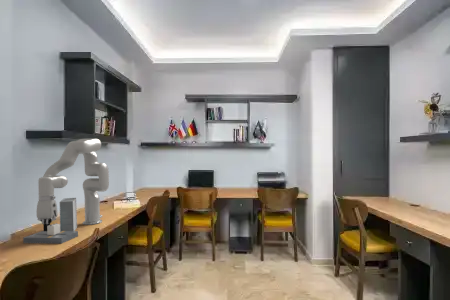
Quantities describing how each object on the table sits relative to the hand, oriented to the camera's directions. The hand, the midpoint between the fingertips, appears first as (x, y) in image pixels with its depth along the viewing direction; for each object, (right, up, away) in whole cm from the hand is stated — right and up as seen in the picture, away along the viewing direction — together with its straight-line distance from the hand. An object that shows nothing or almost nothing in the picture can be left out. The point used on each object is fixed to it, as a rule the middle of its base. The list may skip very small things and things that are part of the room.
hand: (46, 230), depth 164 cm
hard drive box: (+2, -6, +19) cm, 20 cm away
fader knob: (+4, -2, -1) cm, 5 cm away
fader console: (+3, -5, 0) cm, 6 cm away
